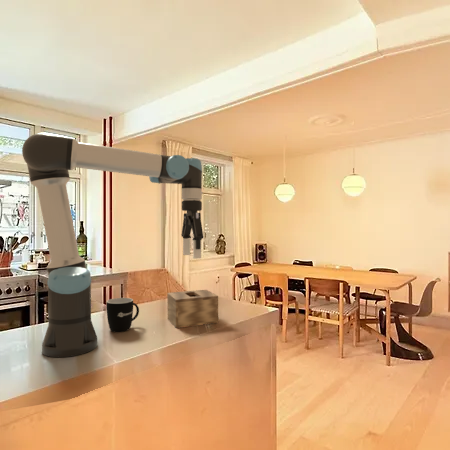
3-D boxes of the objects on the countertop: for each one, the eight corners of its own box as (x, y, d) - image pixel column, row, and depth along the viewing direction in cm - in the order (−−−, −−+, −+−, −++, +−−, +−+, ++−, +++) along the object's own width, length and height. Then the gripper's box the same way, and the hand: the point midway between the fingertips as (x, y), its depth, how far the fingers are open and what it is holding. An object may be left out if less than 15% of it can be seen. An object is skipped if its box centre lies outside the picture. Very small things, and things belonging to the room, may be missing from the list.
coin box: (175, 327, 126) (175, 299, 126) (167, 318, 138) (167, 292, 138) (218, 322, 132) (218, 295, 132) (206, 314, 144) (206, 289, 144)
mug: (115, 335, 118) (115, 304, 118) (101, 329, 125) (101, 300, 124) (145, 327, 127) (145, 298, 127) (131, 322, 133) (131, 295, 133)
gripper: (212, 198, 125) (212, 259, 125) (191, 202, 148) (191, 253, 148) (191, 198, 122) (191, 260, 122) (173, 201, 145) (173, 254, 145)
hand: (191, 256), depth 135 cm, fingers open, 13 cm apart
